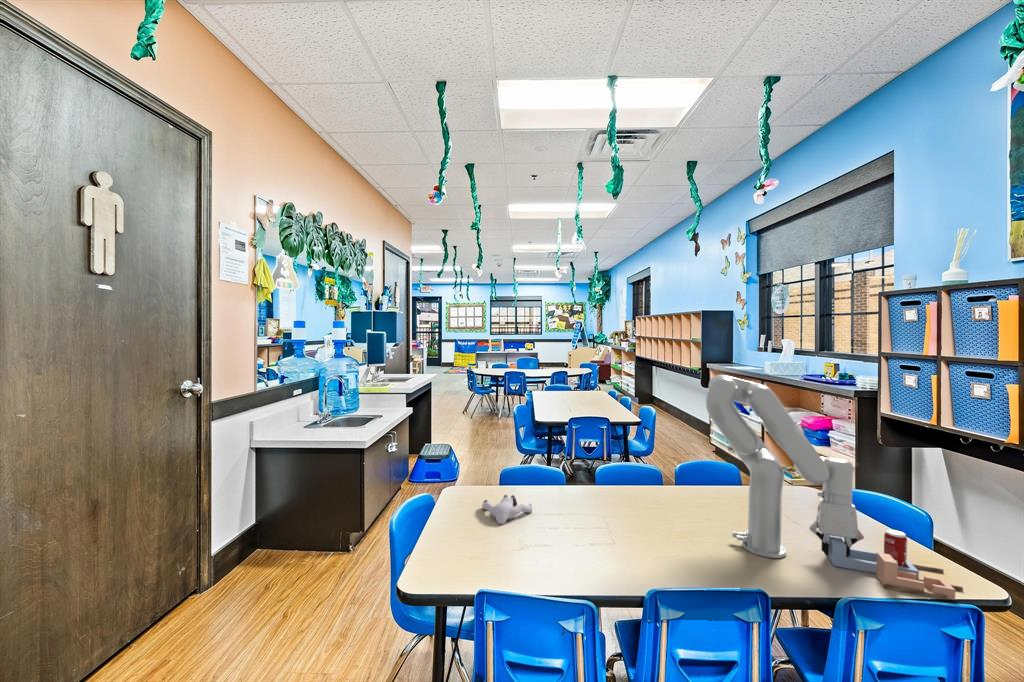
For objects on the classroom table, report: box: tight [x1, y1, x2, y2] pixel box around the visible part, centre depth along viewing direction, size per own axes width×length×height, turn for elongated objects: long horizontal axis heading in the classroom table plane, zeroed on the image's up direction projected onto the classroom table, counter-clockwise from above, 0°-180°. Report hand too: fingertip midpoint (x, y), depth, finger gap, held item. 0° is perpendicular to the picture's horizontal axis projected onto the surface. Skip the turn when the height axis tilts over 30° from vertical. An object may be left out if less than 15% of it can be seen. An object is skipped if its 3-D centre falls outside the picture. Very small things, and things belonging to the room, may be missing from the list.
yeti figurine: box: [481, 494, 533, 525], centre depth 173 cm, size 20×7×20 cm
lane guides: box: [883, 563, 964, 601], centre depth 131 cm, size 20×19×1 cm
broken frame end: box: [923, 575, 956, 601], centre depth 125 cm, size 4×6×3 cm
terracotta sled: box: [875, 552, 926, 591], centre depth 128 cm, size 9×6×7 cm, turn 68°
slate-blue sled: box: [827, 535, 920, 579], centre depth 138 cm, size 20×9×7 cm, turn 68°
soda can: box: [883, 528, 908, 567], centre depth 136 cm, size 5×5×12 cm
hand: (835, 555), depth 142 cm, fingers open, 4 cm apart
